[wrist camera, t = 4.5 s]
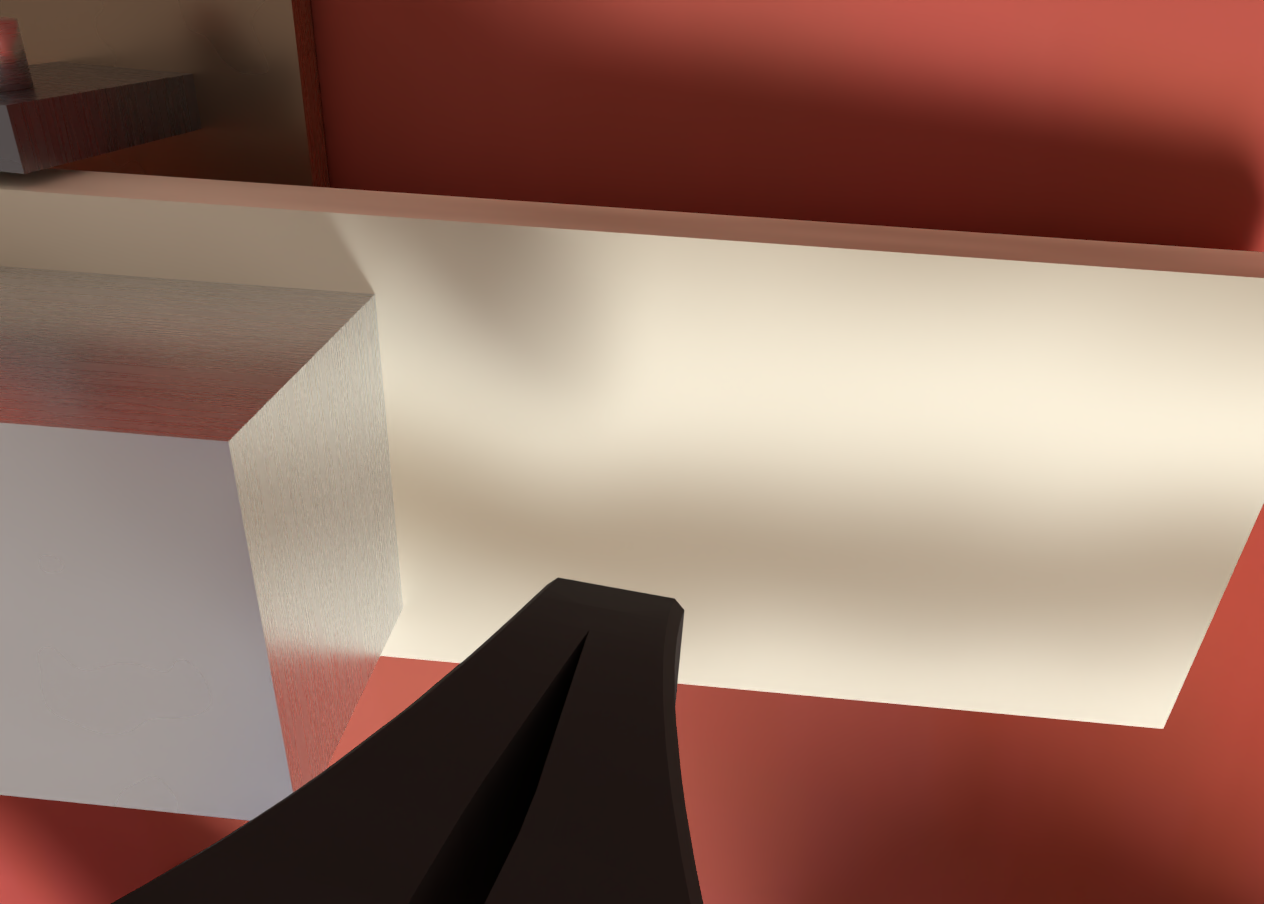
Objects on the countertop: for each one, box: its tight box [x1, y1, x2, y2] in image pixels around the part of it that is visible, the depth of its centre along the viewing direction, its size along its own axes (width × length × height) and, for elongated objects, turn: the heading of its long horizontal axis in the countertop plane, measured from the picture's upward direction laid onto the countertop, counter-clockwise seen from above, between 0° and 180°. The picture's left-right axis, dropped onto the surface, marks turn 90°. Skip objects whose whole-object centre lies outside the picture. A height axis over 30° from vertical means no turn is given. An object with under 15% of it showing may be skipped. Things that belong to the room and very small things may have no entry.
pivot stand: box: [0, 0, 330, 188], centre depth 15 cm, size 12×6×4 cm, turn 178°
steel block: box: [0, 266, 403, 821], centre depth 11 cm, size 5×5×4 cm
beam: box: [0, 168, 1264, 729], centre depth 13 cm, size 7×32×3 cm, turn 88°
